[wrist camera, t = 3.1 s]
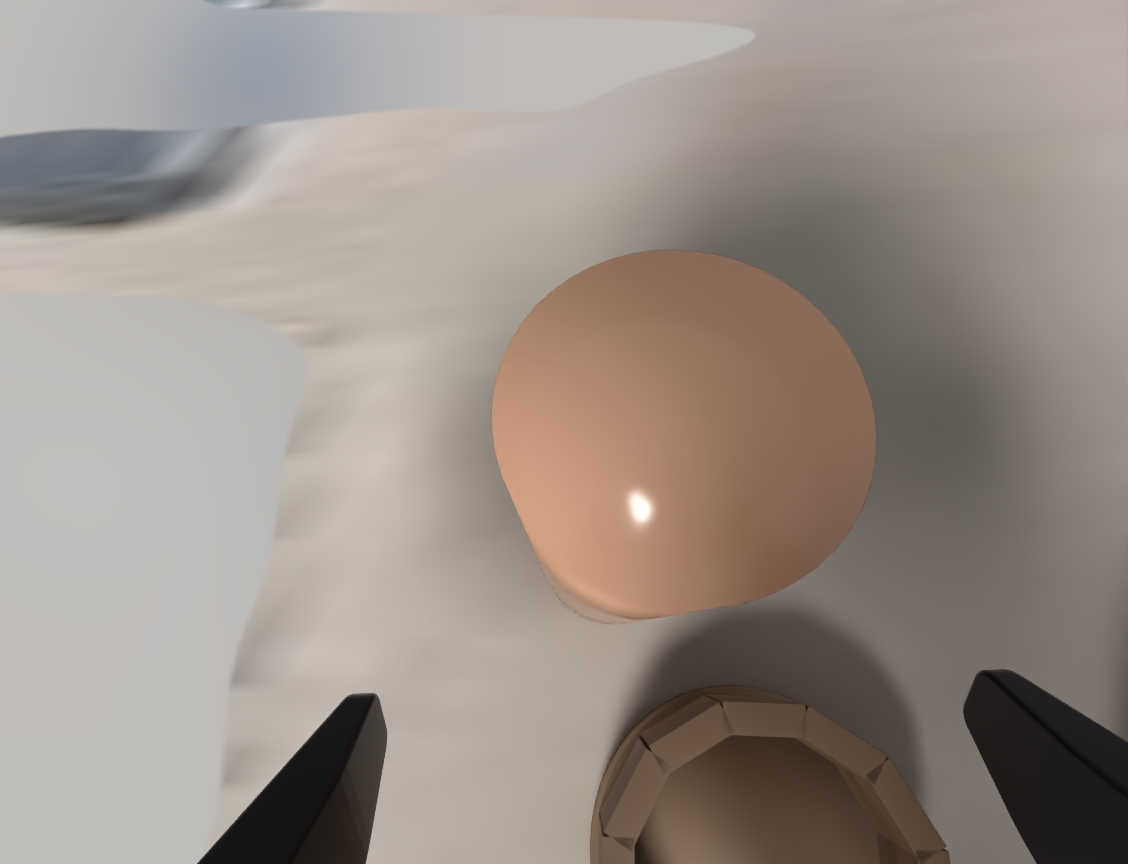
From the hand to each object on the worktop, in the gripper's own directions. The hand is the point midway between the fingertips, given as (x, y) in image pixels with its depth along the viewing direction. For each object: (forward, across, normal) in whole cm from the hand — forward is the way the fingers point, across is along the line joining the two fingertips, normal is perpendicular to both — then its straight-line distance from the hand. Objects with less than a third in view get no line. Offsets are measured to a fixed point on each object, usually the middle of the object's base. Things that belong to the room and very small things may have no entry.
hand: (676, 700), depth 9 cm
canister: (+10, 0, +5) cm, 11 cm away
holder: (+4, -3, +11) cm, 12 cm away
